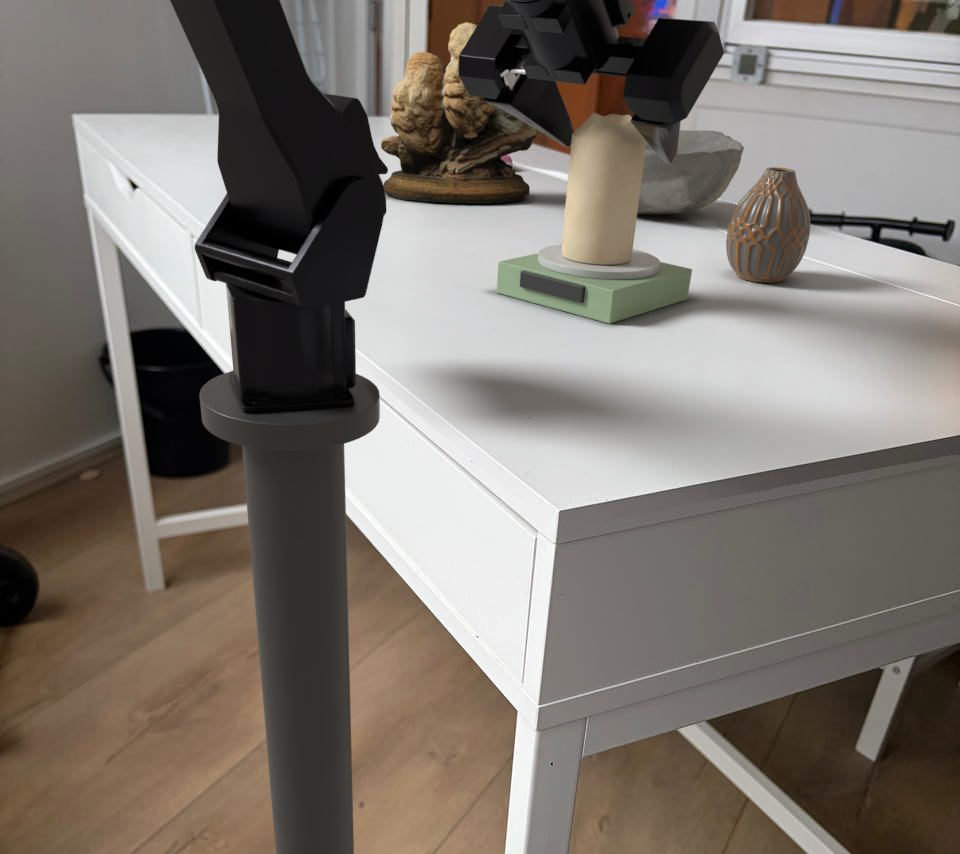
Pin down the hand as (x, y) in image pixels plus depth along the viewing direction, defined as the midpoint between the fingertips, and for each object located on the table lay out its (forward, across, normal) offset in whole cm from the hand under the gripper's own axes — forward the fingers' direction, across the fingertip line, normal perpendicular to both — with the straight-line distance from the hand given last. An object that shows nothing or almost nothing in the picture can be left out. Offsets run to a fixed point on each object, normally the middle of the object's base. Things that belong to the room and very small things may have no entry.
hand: (619, 149), depth 75 cm
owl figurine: (+24, +36, -9) cm, 45 cm away
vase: (+19, -6, -4) cm, 20 cm away
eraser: (+38, +50, -23) cm, 67 cm away
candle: (+4, 0, +7) cm, 8 cm away
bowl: (+32, +17, -17) cm, 40 cm away
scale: (+6, 0, +8) cm, 11 cm away
